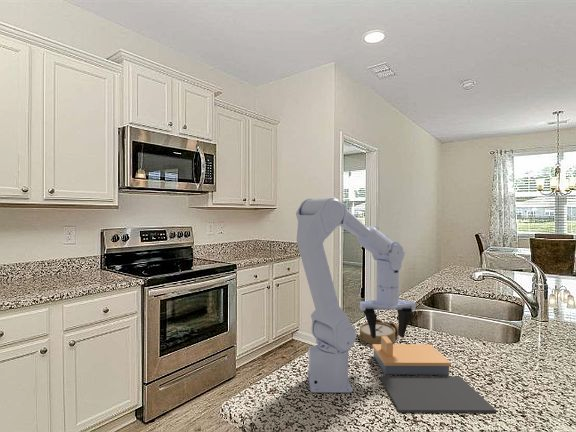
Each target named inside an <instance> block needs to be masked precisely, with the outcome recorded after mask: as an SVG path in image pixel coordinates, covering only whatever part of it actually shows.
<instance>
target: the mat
mask: <svg viewBox="0 0 576 432" xmlns="http://www.w3.org/2000/svg"><path fill="white" fill-rule="evenodd" d="M378 378H379V380H380V383H382V385H383V386H384V387H383V388H384V389H385V391H386V392H387V394H388V395H389V397H390V400H391V401H392V402H393V404H394V406H395V407H396V410H397V411H398V413H487V414H488V413H491V414H492V413H495V414H496V413H497V408H495V407H494V406H493V405H492V404H490V403H489V401H487V400H486V399H485V398H484V397H483V396H482V395H481V394H480V393H479V392H478V391H476V390H475V389H474V387H472V386H471V385H470V384H469V383H468V382H466V380H465V379H464V378H462V377H461V376H456V375H455V376H451V375H450V376H449V375H379V377H378Z"/></svg>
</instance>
